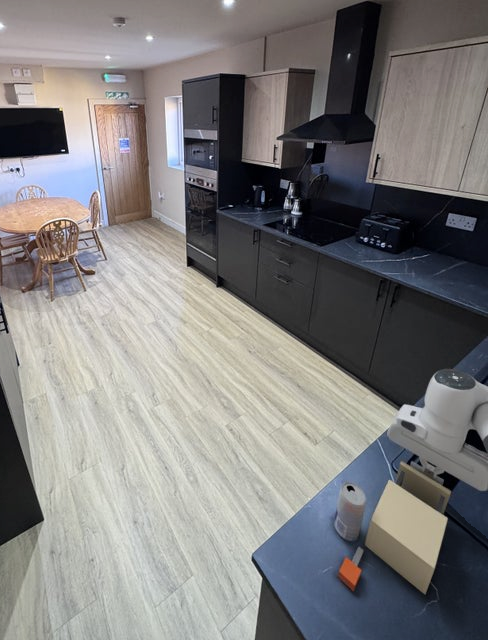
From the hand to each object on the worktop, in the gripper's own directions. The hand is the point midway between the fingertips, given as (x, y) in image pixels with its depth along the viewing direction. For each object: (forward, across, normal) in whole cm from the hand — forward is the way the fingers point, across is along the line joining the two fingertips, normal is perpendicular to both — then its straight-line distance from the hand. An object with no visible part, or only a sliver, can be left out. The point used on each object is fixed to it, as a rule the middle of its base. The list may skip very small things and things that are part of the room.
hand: (429, 472), depth 82 cm
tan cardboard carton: (+7, +1, +17) cm, 18 cm away
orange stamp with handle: (+7, +7, +29) cm, 31 cm away
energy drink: (+7, +11, +23) cm, 26 cm away
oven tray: (+6, +1, +6) cm, 8 cm away
